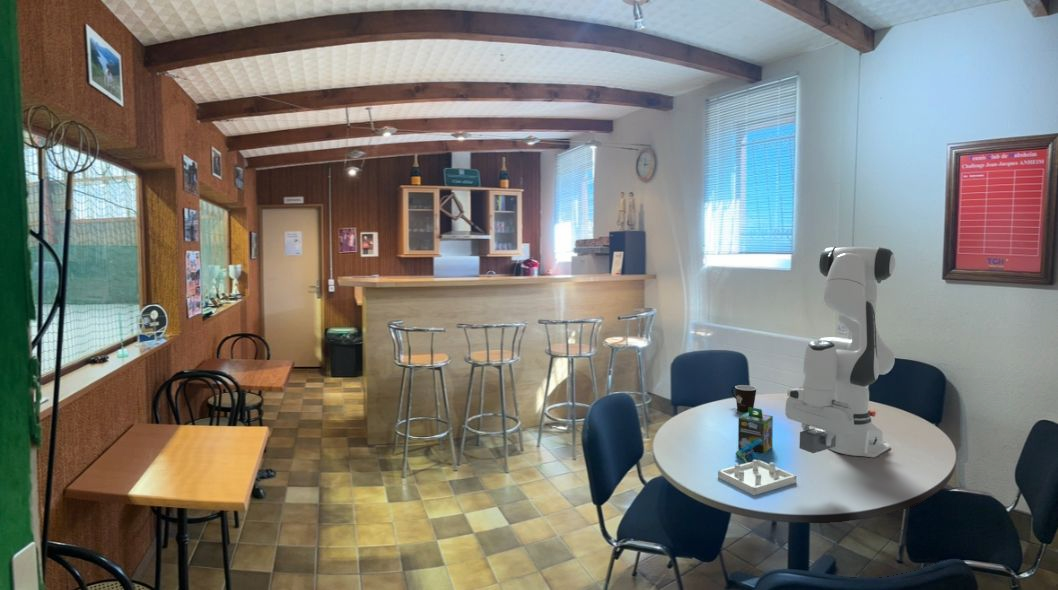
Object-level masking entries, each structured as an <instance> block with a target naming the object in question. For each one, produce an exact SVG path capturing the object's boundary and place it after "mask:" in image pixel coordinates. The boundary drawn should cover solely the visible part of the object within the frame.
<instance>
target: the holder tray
mask: <svg viewBox="0 0 1058 590" xmlns="http://www.w3.org/2000/svg"><path fill="white" fill-rule="evenodd" d="M775 465H776V463H775V462H769V463H767V462H766V461H762V460H760V459H759V460H755V459H752V461H750V462H749V461H748V463H746V462H744V463H741V464H738V463H737V464H734V466H731V467H727V468H723V469H719V470H717V478H719V479H721V480H723V481H724V482H727V483H728V484H731V485H732V486H734V487H736V488H738V489H741V490H743V491H744V492H747V493H748V494H750V495H753V496H757V495H760V494H764V493H766V492H770V491H773V490H776V489H779V488H783V487H786V486H787V487H788V486H790V485H793V484H796V483H797V475H796V474H793V473H790V472H789V471H787V470H784V469H781V468H779V467H777V466H775Z"/></svg>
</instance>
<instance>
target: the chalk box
mask: <svg viewBox="0 0 1058 590" xmlns="http://www.w3.org/2000/svg"><path fill="white" fill-rule="evenodd" d="M748 411H749V412H747V413H743V414H742V415H741V416H740V417H739V418H738V423H737V424H738V429H737V430H738V432H737V433H738V434H737V436H738V437H737V438H738V440H737V442H738V443H737V444H738V446H737V448H738V449H740V450H741V449H742V448H744V447H745V446H746V445H747V444H748V445H749V444H750V443H753V442H754V441H756V440H758V439H761V440H762V442H761V443H760V444H758V445H756V446H755V447H754V448H752V449H753V450H754V453H755V454H756V453H757V454H759V455H764V454H766V453H767V452H768V451H769V450H770V449H771V448H773V438H774V437H773V436H774V435H773V434H774V433H773V431H774V430H773V427H774V426H773V425H774V422H773V421H774V420H773V416H772V415H769V414H763V410H762V409H761V408H756V407H754V408H751V407H749V408H748ZM752 411H753V412H752ZM756 412H757V413H756Z"/></svg>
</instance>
